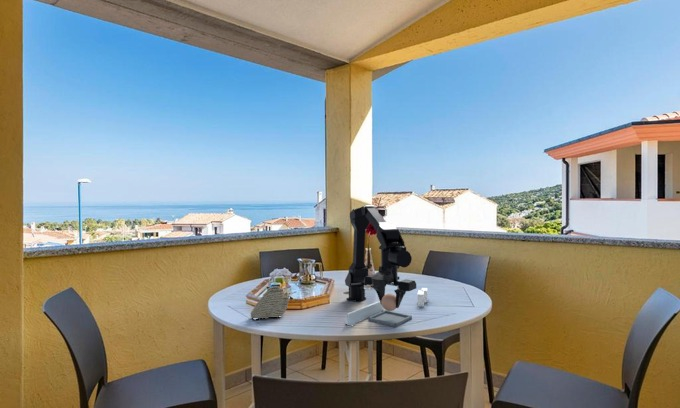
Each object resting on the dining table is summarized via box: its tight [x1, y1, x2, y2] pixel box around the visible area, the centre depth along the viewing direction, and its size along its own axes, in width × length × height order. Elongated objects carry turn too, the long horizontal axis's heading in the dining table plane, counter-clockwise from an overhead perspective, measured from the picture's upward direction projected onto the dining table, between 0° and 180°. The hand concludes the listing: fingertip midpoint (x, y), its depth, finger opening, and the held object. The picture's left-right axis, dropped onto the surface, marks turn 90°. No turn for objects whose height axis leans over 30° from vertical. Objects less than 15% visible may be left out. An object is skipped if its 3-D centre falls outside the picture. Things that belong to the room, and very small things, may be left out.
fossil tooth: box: [250, 285, 290, 319], centre depth 132 cm, size 12×6×15 cm
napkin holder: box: [417, 287, 429, 308], centre depth 148 cm, size 15×11×6 cm
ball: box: [381, 293, 397, 312], centre depth 127 cm, size 6×6×6 cm
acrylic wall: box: [344, 300, 385, 327], centre depth 130 cm, size 3×22×4 cm, turn 140°
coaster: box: [367, 310, 413, 328], centre depth 127 cm, size 11×11×1 cm
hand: (389, 306), depth 127 cm, fingers closed on ball, 6 cm apart
